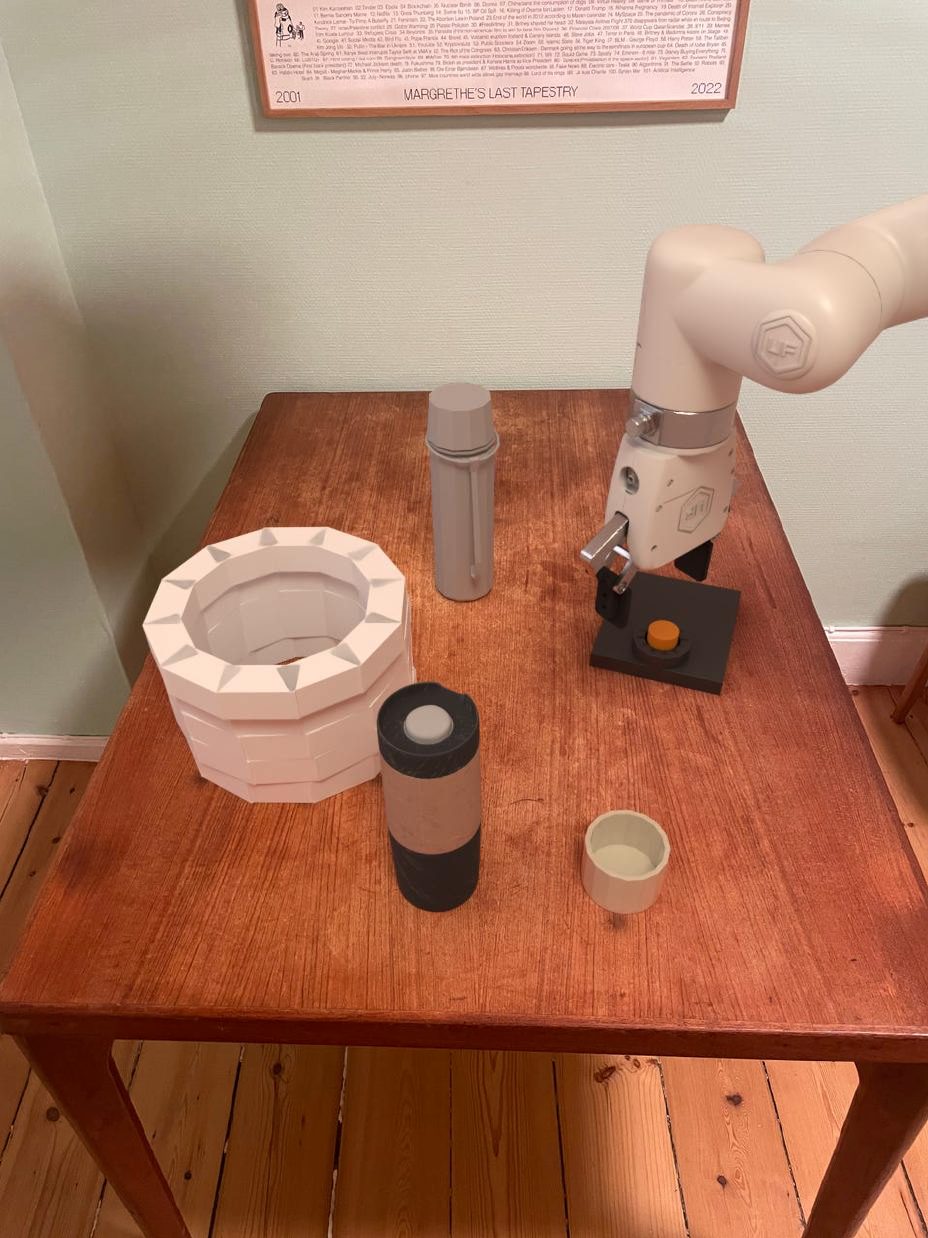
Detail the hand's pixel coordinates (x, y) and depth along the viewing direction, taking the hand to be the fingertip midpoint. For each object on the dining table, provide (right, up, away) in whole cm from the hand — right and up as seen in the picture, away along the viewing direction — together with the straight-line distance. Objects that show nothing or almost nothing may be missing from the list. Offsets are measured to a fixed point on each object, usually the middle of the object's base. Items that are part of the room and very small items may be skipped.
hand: (651, 595), depth 76 cm
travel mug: (-18, -24, +2) cm, 30 cm away
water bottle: (-16, +1, +32) cm, 35 cm away
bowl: (-2, -24, +1) cm, 24 cm away
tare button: (+5, -4, +20) cm, 21 cm away
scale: (+7, -4, +25) cm, 26 cm away
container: (-33, -12, +16) cm, 38 cm away
